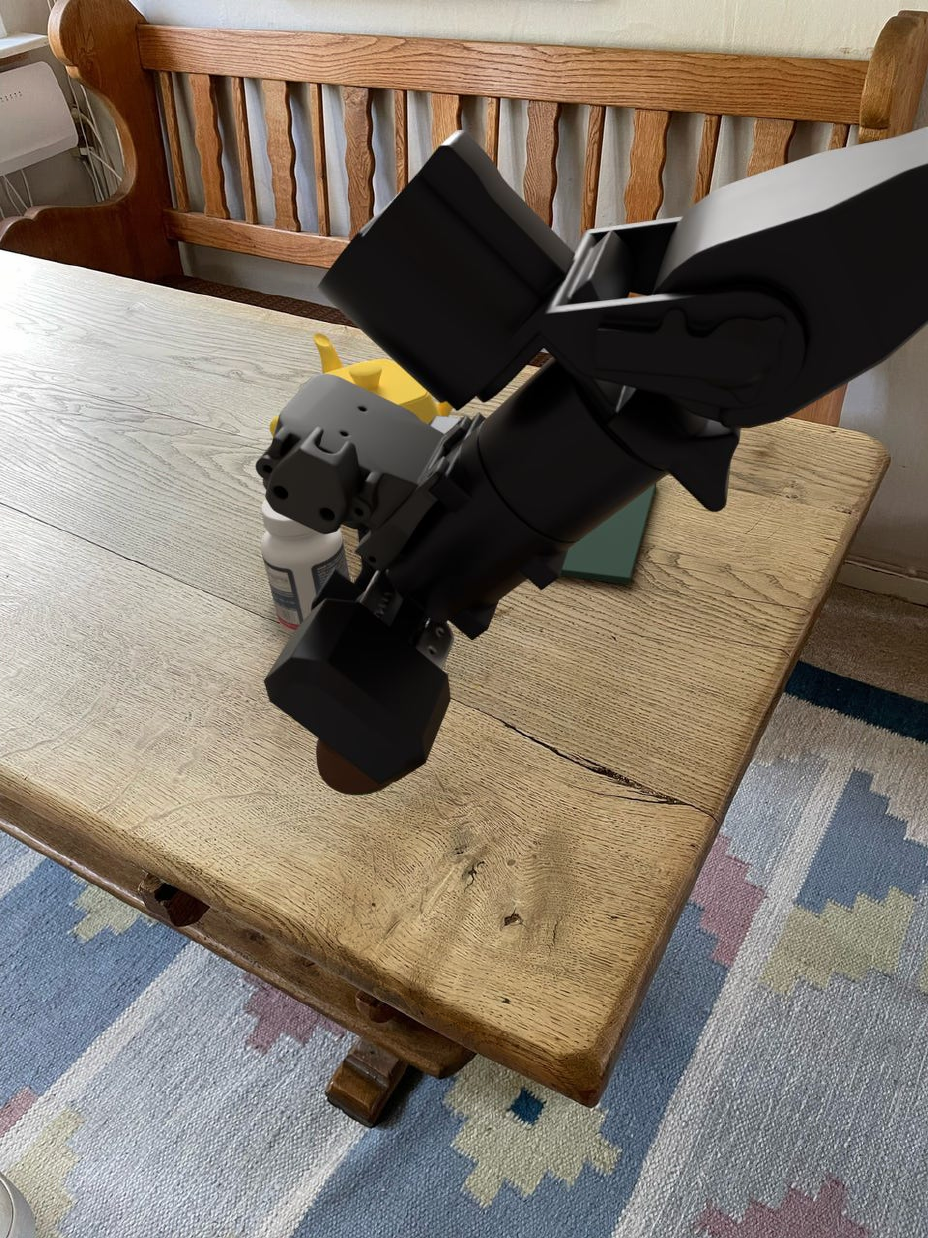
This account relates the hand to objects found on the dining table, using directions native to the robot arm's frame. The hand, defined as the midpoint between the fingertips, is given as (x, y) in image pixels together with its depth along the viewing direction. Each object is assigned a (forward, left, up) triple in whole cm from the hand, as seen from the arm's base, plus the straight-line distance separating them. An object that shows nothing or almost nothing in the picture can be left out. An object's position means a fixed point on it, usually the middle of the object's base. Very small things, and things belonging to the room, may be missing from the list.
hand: (314, 663), depth 46 cm
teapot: (+10, -32, -10) cm, 35 cm away
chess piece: (-2, 0, -7) cm, 7 cm away
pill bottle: (+8, -15, -11) cm, 20 cm away
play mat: (-6, -29, -10) cm, 31 cm away
